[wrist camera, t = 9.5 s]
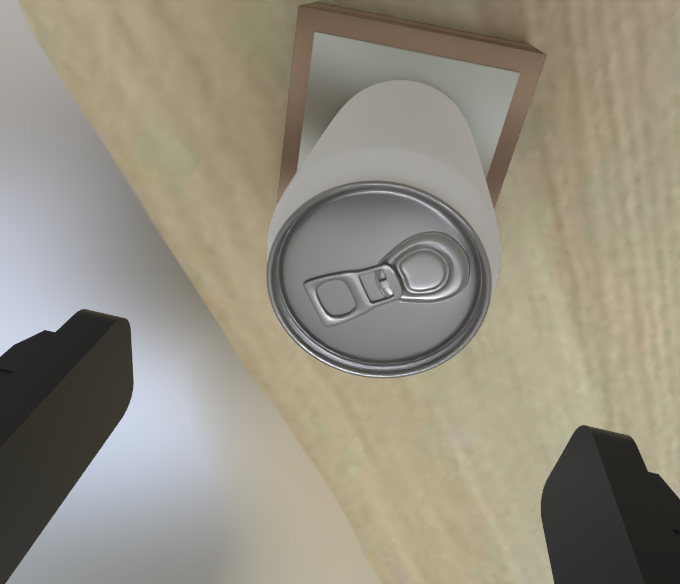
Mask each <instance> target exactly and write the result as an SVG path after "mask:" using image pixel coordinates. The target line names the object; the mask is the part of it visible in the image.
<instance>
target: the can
mask: <svg viewBox="0 0 680 584" xmlns="http://www.w3.org/2000/svg"><path fill="white" fill-rule="evenodd" d="M267 255H268V263H267V288H268V294H269V298H270V301H271V304H272V307H273V310H274V312H275V314H276V316H277V318H278V320H279V322H280V323H281V325H282V326H283V328H284V329H285V331H286V332H287V333H288V335H289V336H290V337H291V338H292V339H293V340H294V341H295V342H296V343H297V344H298V345H299V346H300V347H301V348H302V349H303V350H304V351H306V352H307V353H308V354H310V355H311V356H313V357H314V358H316V359H317V360H319V361H321V362H322V363H324V364H326V365H328V366H330V367H332V368H335V369H337V370H340V371H343V372H346V373H349V374H353V375H358V376H363V377H370V378H398V377H405V376H410V375H415V374H418V373H422V372H425V371H427V370H430V369H432V368H435V367H437V366H439V365H441V364H443V363H444V362H446V361H448V360H449V359H451V358H452V357H454V356H455V355H456V354H457V353H459V352H460V351H461V350H462V349H463V348H464V347H465V346H466V345H467V344H468V343H469V342H470V341H471V340H472V338H473V337H474V336H475V334H476V333H477V331H478V330H479V328H480V327H481V325H482V323H483V321H484V319H485V316H486V314H487V311H488V307H489V304H490V299H491V296H492V293H493V291H494V289H495V286H496V283H497V280H498V276H499V271H500V263H501V242H500V234H499V229H498V224H497V220H496V216H495V212H494V208H493V204H492V201H491V197H490V193H489V190H488V186H487V183H486V179H485V176H484V172H483V169H482V165H481V162H480V158H479V155H478V151H477V148H476V145H475V142H474V139H473V136H472V133H471V130H470V128H469V126H468V123H467V121H466V119H465V118H464V116H463V114H462V113H461V111H460V110H459V108H458V107H457V106H456V105H455V103H454V102H453V101H452V100H451V99H450V98H449V97H447V96H446V95H445V94H443V93H442V92H441V91H439V90H437V89H435V88H433V87H431V86H429V85H426V84H424V83H420V82H416V81H410V80H392V81H385V82H381V83H378V84H375V85H372V86H370V87H368V88H366V89H364V90H362V91H361V92H359V93H358V94H356V95H355V96H354V97H352V98H351V99H350V100H349V101H348V102H347V103H346V104H345V105H344V106H343V107H342V108H341V109H340V111H339V112H338V113H337V115H336V116H335V117H334V119H333V120H332V121H331V123H330V124H329V126H328V127H327V129H326V130H325V131H324V133H323V134H322V136H321V137H320V139H319V140H318V142H317V143H316V145H315V146H314V147H313V149H312V150H311V152H310V153H309V155H308V156H307V158H306V159H305V161H304V162H303V164H302V165H301V167H300V168H299V170H298V171H297V173H296V174H295V176H294V177H293V179H292V180H291V182H290V183H289V185H288V187H287V188H286V190H285V192H284V193H283V195H282V197H281V199H280V200H279V202H278V204H277V207H276V209H275V212H274V214H273V217H272V220H271V224H270V228H269V233H268V241H267Z"/></svg>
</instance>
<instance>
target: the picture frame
mask: <svg viewBox="0 0 680 584" xmlns="http://www.w3.org/2000/svg"><path fill="white" fill-rule="evenodd" d="M545 58H546V54H544V53H543V52H541V51H539V50H538V49H536V48H535V47H533V46H531V45H530V44H525V43H520V42H514V41H509V40H504V39H499V38H494V37H489V36H484V35H479V34H474V33H469V32H464V31H459V30H454V29H449V28H444V27H439V26H433V25H428V24H423V23H418V22H413V21H408V20H403V19H398V18H393V17H388V16H383V15H378V14H373V13H368V12H363V11H357V10H352V9H347V8H342V7H337V6H332V5H327V4H322V3H317V2H316V3H311V4H306V5H301V6H299V8H298V17H297V26H296V35H295V44H294V54H293V63H292V72H291V81H290V90H289V99H288V108H287V117H286V126H285V136H284V145H283V154H282V163H281V172H280V181H279V190H278V199H277V204H278V202H279V200H280V199H281V197H282V195H283V193H284V192H285V190H286V188H287V187H288V185H289V183H290V182H291V180H292V179H293V177H294V176H295V174H296V173H297V171H298V170H299V168H300V167H301V165H302V164H303V162H304V161H305V159H306V158H307V156H308V155H309V153H310V152H311V150H312V149H313V147H314V146H315V145H316V143H317V142H318V140H319V139H320V137H321V136H322V134H323V133H324V131H325V130H326V129H327V127H328V126H329V124H330V123H331V121H332V120H333V119H334V117H335V116H336V115H337V113H338V112H339V111H340V109H341V108H342V107H343V106H344V105H345V104H346V103H347V102H348V101H349V100H350V99H351V98H352V97H354V96H355V95H356V94H358V93H359V92H361V91H362V90H364V89H366V88H368V87H370V86H372V85H375V84H378V83H381V82H385V81H392V80H410V81H416V82H420V83H424V84H426V85H429V86H431V87H433V88H435V89H437V90H439V91H441V92H442V93H443V94H445V95H446V96H447V97H449V98H450V99H451V100H452V101H453V102H454V103H455V105H456V106H457V107H458V108H459V110H460V111H461V113H462V114H463V116H464V118H465V119H466V121H467V123H468V126H469V128H470V130H471V133H472V136H473V139H474V142H475V145H476V148H477V151H478V155H479V158H480V162H481V165H482V169H483V172H484V176H485V179H486V183H487V186H488V190H489V193H490V197H491V201H492V204H493V208H495V205H496V202H497V199H498V196H499V193H500V190H501V187H502V184H503V181H504V178H505V175H506V172H507V169H508V166H509V163H510V161H511V158H512V155H513V152H514V149H515V146H516V143H517V140H518V137H519V134H520V131H521V128H522V125H523V122H524V119H525V116H526V114H527V111H528V108H529V105H530V102H531V99H532V96H533V93H534V90H535V87H536V84H537V81H538V78H539V75H540V72H541V70H542V67H543V64H544V61H545Z"/></svg>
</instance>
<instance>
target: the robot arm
mask: <svg viewBox="0 0 680 584" xmlns="http://www.w3.org/2000/svg"><path fill="white" fill-rule="evenodd" d="M132 392H133V364H132V347H131V329H130V324H129V322H128V320H127V319H125V318H121V317H117V316H113V315H108V314H104V313H99V312H95V311H91V310H86V309H83V310H80V311H78V312H77V313H76V314H75V315H73V316H72V317H71V318H70V319H69V320H68V321H67V322H66V323H65V324H64V325H63V326H62V327H61V328H60V329H58V330H57V331H56V332H50V331H46V330H44V331H43V332H40V333H38V334H36V335H34V336H32V337H30V338H28V339H26V340H24V341H21V342H19V343H17V344H15V345H13V346H12V347H11V348H10V349H9V350H8V351H7V352H5V353H4V354H3V355H2V356H1V357H0V584H5V583H6V582H7V580H8V579H9V577H10V576H11V574H12V573H13V572H14V570H15V569H16V567H17V566H18V565H19V563H20V562H21V560H22V559H23V558H24V556H25V555H26V553H27V552H28V551H29V549H30V548H31V546H32V545H33V543H34V542H35V541H36V539H37V538H38V536H39V535H40V534H41V532H42V531H43V529H44V528H45V526H46V525H47V523H48V522H49V521H50V519H51V518H52V517H53V515H54V514H55V512H56V511H57V509H58V508H59V507H60V505H61V504H62V502H63V501H64V500H65V498H66V497H67V495H68V494H69V492H70V491H71V490H72V488H73V487H74V485H75V484H76V483H77V481H78V479H79V478H80V477H81V475H82V474H83V472H84V471H85V470H86V468H87V467H88V465H89V464H90V463H91V461H92V460H93V458H94V457H95V456H96V454H97V453H98V451H99V450H100V449H101V447H102V446H103V444H104V443H105V441H106V440H107V439H108V437H109V436H110V434H111V433H112V432H113V430H114V428H115V427H116V426H117V424H118V423H119V422H120V420H121V419H122V417H123V416H124V414H125V412H126V410H127V408H128V405H129V403H130V400H131V396H132ZM541 518H542V523H543V528H544V533H545V538H546V543H547V548H548V553H549V559H550V564H551V569H552V574H553V579H554V584H680V499H679V498H678V497H677V495H676V494H675V493H674V492H673V491H672V490H671V488H670V487H669V486H668V485H667V484H666V483H665V481H664V480H663V479H662V478H661V477H660V475H659V474H655V473H651V472H648V471H647V468H646V466H645V464H644V461H643V459H642V457H641V454H640V452H639V450H638V448H637V445H636V443H635V441H634V440H633V439H632V438H631V437H630V436H628V435H624V434H620V433H616V432H611V431H607V430H603V429H598V428H594V427H590V426H585V425H582V426H580V427H578V428H577V429H576V430H575V432H574V433H573V435H572V437H571V439H570V440H569V442H568V444H567V446H566V447H565V449H564V451H563V453H562V455H561V456H560V458H559V460H558V462H557V463H556V465H555V467H554V469H553V470H552V472H551V474H550V476H549V477H548V479H547V481H546V483H545V486H544V489H543V493H542V499H541Z"/></svg>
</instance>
